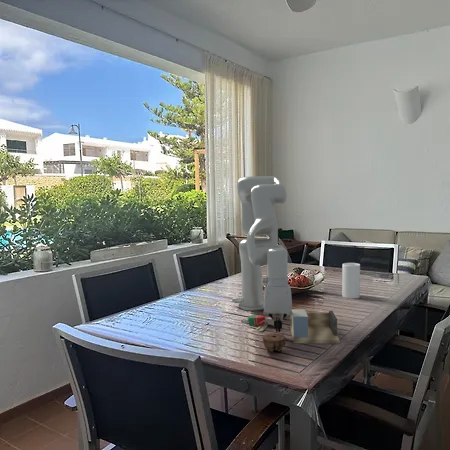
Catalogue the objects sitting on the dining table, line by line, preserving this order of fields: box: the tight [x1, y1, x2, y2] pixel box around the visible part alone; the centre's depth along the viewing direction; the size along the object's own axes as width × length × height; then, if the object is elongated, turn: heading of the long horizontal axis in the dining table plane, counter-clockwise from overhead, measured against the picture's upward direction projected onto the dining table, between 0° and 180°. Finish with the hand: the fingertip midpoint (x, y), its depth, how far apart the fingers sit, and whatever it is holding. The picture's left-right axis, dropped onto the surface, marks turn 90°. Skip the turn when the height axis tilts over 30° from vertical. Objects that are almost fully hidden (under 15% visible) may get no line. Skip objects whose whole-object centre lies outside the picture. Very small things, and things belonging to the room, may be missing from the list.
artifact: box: [262, 333, 286, 353], centre depth 143 cm, size 8×8×5 cm
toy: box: [241, 314, 274, 333], centre depth 171 cm, size 15×4×15 cm
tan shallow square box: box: [289, 310, 340, 345], centre depth 157 cm, size 16×16×7 cm
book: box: [292, 308, 308, 337], centre depth 156 cm, size 5×9×8 cm, turn 175°
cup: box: [341, 262, 361, 300], centre depth 208 cm, size 8×8×16 cm
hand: (277, 330), depth 157 cm, fingers closed
